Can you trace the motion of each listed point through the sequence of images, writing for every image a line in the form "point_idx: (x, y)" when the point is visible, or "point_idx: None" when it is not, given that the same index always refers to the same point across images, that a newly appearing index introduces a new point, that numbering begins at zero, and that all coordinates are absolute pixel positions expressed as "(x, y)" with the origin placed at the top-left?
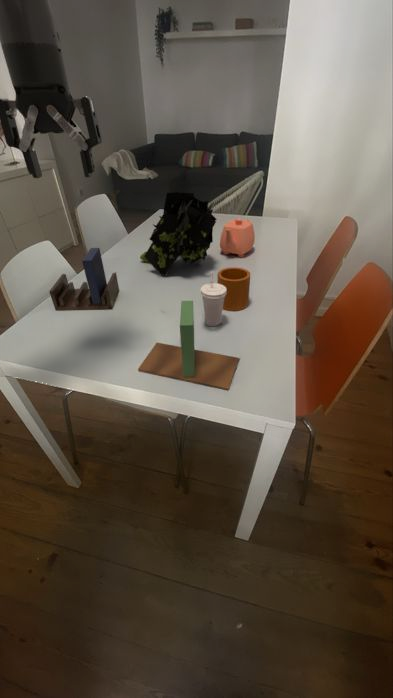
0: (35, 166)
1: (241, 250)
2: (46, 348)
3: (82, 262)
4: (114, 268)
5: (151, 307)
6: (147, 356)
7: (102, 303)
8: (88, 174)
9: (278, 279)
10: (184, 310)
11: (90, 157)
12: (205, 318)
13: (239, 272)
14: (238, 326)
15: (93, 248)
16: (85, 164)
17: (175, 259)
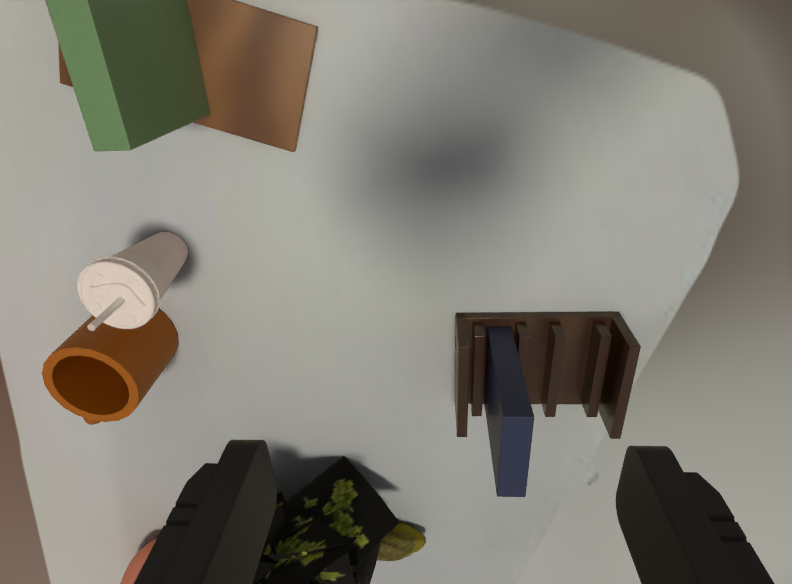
0: (655, 523)
1: (151, 547)
2: (605, 130)
3: (532, 412)
4: (492, 502)
5: (348, 319)
6: (303, 86)
7: (482, 325)
8: (228, 447)
9: (47, 432)
10: (99, 84)
11: (147, 561)
12: (182, 252)
13: (88, 403)
14: (100, 230)
15: (515, 493)
16: (209, 503)
17: (299, 494)
